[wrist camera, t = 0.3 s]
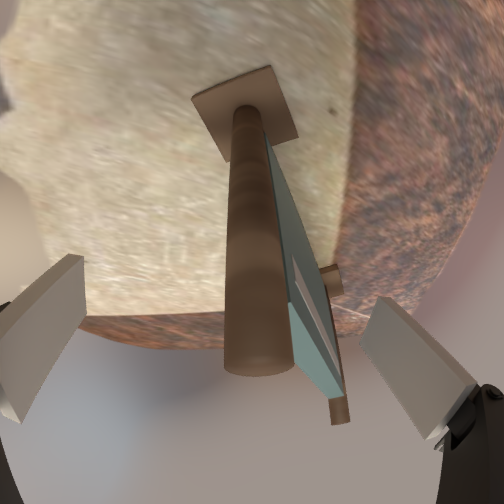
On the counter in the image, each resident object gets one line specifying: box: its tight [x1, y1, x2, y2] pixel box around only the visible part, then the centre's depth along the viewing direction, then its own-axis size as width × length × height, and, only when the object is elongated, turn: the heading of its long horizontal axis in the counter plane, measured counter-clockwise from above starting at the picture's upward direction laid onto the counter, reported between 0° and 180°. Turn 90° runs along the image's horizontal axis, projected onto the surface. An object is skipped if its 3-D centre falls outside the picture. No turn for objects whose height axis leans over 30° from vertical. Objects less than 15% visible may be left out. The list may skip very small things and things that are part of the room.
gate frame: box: [191, 66, 350, 425], centre depth 22 cm, size 30×6×18 cm, turn 22°
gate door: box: [264, 133, 344, 399], centre depth 23 cm, size 21×2×14 cm, turn 22°
